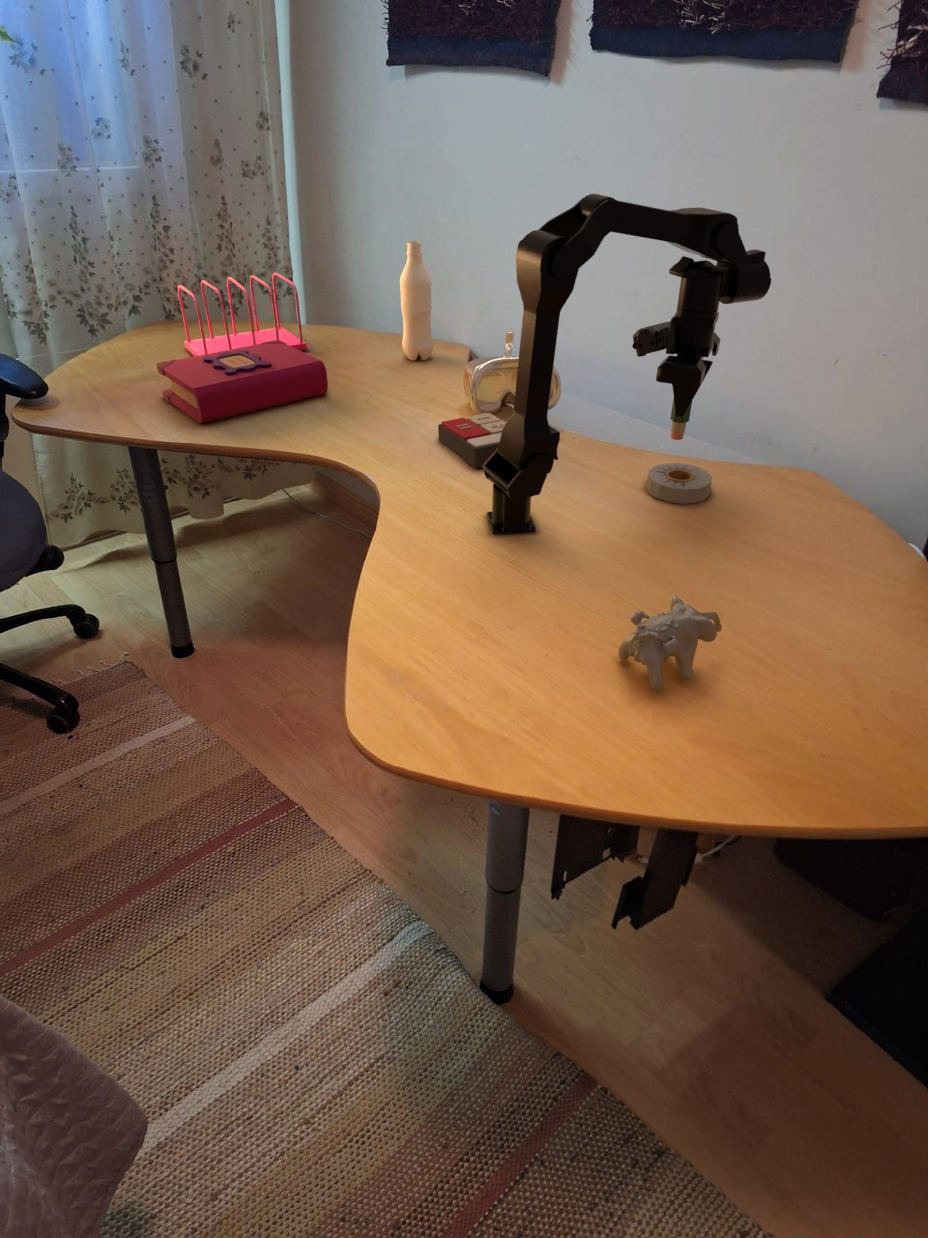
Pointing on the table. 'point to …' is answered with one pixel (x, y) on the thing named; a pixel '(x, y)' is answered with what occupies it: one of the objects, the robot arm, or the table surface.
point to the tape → (679, 483)
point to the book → (242, 380)
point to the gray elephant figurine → (669, 639)
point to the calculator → (472, 437)
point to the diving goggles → (499, 381)
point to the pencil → (679, 423)
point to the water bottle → (416, 305)
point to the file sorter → (234, 340)
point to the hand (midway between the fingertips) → (681, 412)
